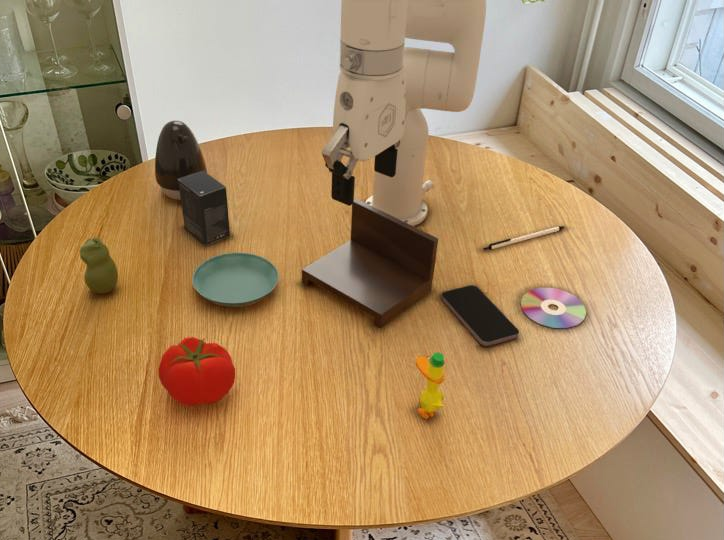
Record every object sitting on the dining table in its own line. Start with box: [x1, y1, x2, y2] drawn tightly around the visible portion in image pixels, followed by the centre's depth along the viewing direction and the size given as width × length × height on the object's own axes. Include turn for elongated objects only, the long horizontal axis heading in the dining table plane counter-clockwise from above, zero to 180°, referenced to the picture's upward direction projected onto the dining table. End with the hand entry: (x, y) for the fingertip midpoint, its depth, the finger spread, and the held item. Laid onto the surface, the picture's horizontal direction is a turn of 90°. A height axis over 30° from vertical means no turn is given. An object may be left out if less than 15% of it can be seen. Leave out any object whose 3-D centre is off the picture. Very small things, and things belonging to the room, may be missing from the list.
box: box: [178, 171, 231, 246], centre depth 139 cm, size 8×6×11 cm
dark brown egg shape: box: [154, 120, 208, 201], centre depth 147 cm, size 10×10×15 cm
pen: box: [483, 225, 566, 251], centre depth 144 cm, size 1×19×1 cm, turn 116°
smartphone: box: [440, 284, 520, 347], centre depth 127 cm, size 7×1×15 cm
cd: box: [520, 287, 587, 329], centre depth 129 cm, size 11×11×1 cm
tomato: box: [158, 336, 236, 408], centre depth 109 cm, size 11×11×9 cm
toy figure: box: [414, 352, 446, 420], centre depth 106 cm, size 7×4×12 cm, turn 33°
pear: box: [79, 237, 119, 295], centre depth 125 cm, size 6×5×10 cm
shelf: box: [301, 198, 439, 330], centre depth 128 cm, size 14×18×11 cm
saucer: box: [191, 252, 280, 308], centre depth 130 cm, size 15×15×3 cm
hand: (364, 187), depth 100 cm, fingers open, 9 cm apart
